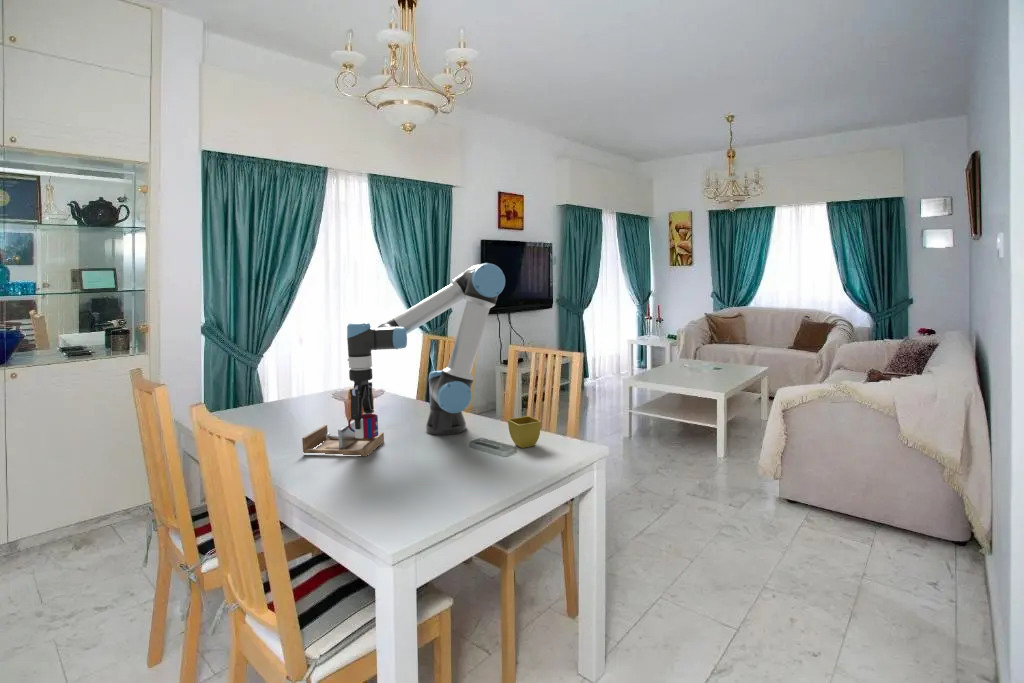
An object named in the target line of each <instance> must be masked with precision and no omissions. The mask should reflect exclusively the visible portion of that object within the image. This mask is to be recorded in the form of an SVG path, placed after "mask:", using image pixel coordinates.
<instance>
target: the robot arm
mask: <svg viewBox="0 0 1024 683" xmlns="http://www.w3.org/2000/svg"><path fill="white" fill-rule="evenodd" d="M505 286H506V277H505V274H504V272H503V270H502V269H501V268H500V267H499V266H498V265H496V264H493V263H489V262H484V263H483V262H482V263H479V264H478V263H476V264H474V265H472V266H470V267H468V268H467V269H466V270H465V271H463V272H461V273H460V274H459V275H458V276H456V277H455V278H453V279H451V283H450V284H449V285H447V286H445V287H443V288H442V289H440V290H438V291H437V292H434V293H433V294H431V295H429V296H428V297H426V298H424V299H423V300H421V301H420V302H418V303H416V304H415V305H413V306H411V307H410V308H408V309H406V310H404V311H403V312H401V313H400V314H398V315H396V316H394V317H393V318H391V319H389V321H386V322H384V323H381V324H379V325H378V326H376V327H371V324H370V322H369V321H368V322H367V321H366V322H365V321H362V322H361V321H360V322H350V323H348V325H347V328H346V331H347V332H346V340H347V353H348V354H347V355H348V356H347V357H348V358H347V362H348V368H349V370H348V377H349V380H350V381H351V382H353V388H352V389H351V388H350V389H349V393H350V418H351V420H354V423H355V438H364V430H363V419H362V415H364V414H375V413H374V412H375V409H374V407H375V405H374V396H373V395H374V394H373V381H370V380H372V379H373V369H372V367H373V361H372V360H373V358H372V351H376V350H400V349H405V348H406V347H407V346H408V334H409V333H412V332H413V331H414V330H416V329H418V328H419V327H422V326H423V325H425V324H426V323H428V322H429V321H432V320H433V319H434V318H436V317H438V316H439V315H441V314H443V313H444V312H446V311H448V310H449V309H451V308H453V307H454V306H456V305H458V304H459V303H461V302H466V303H465V307H464V310H463V313H462V317H461V320H460V324H459V326H458V331H457V334H456V338H455V340H454V343H453V347H452V351H451V354H450V358H449V361H448V364H447V366H446V367H445V368H442V370H433V371H430V372H429V374H428V386H429V387H428V388H429V413H428V417H427V421H426V424H425V428H426V430H425V431H426V432H427V433H428V434H431V435H437V436H438V435H439V436H444V435H445V436H448V435H455V434H459V433H462V432H464V431H466V430H467V422H466V420H465V417H464V415H463V412H464V410H466V409H467V408H469V406H470V404H471V401H472V396H473V395H472V391H471V389H472V386H473V382H474V376H473V375H472V370H473V367H474V364H475V360H476V357H477V353H478V350H479V347H480V343H481V341H482V336H483V332H484V330H485V326H486V324H487V319H488V316H489V313H490V309H491V308H493V307H495V306H496V303H497V300H498V296H499V295H500V294H501V293H502V292H503V290H504V288H505Z"/></svg>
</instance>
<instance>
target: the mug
mask: <svg viewBox="0 0 1024 683" xmlns="http://www.w3.org/2000/svg"><path fill="white" fill-rule="evenodd" d="M378 418H379V417H378V414H376V413H371V414H364V415H363V414H362V419H363V430H364V438H374V437H376V436H378V435H379V419H378ZM351 421H352V419H351V417H350V418H349V419H348V423H347V424H348V426H349V429H350V430H351V431H353V432H355V430H353V429H352V428H351V426H350V422H351Z"/></svg>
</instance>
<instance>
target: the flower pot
mask: <svg viewBox="0 0 1024 683" xmlns="http://www.w3.org/2000/svg"><path fill="white" fill-rule="evenodd" d="M507 426H508V430H509V435H510V438H511V441H513V444H514V445H515V446H518V447H519V448H520V449H526V448H529V447H534V446H535V445H536V444H537V443H538V440H539V439H540V436H541V435H540V434H541V426H542V420H540V419H537V418H534V417H532V416H530V415H526V416H520V417H514V418H510V419H507Z"/></svg>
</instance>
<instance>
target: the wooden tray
mask: <svg viewBox="0 0 1024 683" xmlns="http://www.w3.org/2000/svg"><path fill="white" fill-rule="evenodd" d="M326 434H329V432H328V424H324V425H322V426H321V427H318V428H317V429H314V431H312V432H310V433H308V434H306V435H305V436H303V437H302V440H301V441H302V442H301V443H302V453H303V452H304V453H325V454H343V455H361V456H367V455H368V454H370V453H371V452H372V451H373V450H374V451H376V450H375V449H376V448H377V447H378V446H379V447H380V446H382V445H383V444H384V443H385V435H384V434H385V433H384V432H380V433H378V436H376V437H374V438H358V440H357V441H356V442H354V443H353V444H352V445H350V446H349V447H348V448H346V449H339V439H330V440H329V441H327V440H326ZM323 441H324V442H323ZM383 442H384V443H383ZM320 443H322V445H320V446H318V447H317V448H316V449H313V448H314V447H316V446H317V445H319V444H320ZM382 443H383V444H382ZM379 447H378V448H379ZM378 448H377V449H378ZM374 451H373V452H374ZM373 452H372V453H373ZM372 453H371V454H372ZM371 454H370V455H371ZM368 456H369V455H368ZM368 456H367V457H368Z"/></svg>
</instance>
